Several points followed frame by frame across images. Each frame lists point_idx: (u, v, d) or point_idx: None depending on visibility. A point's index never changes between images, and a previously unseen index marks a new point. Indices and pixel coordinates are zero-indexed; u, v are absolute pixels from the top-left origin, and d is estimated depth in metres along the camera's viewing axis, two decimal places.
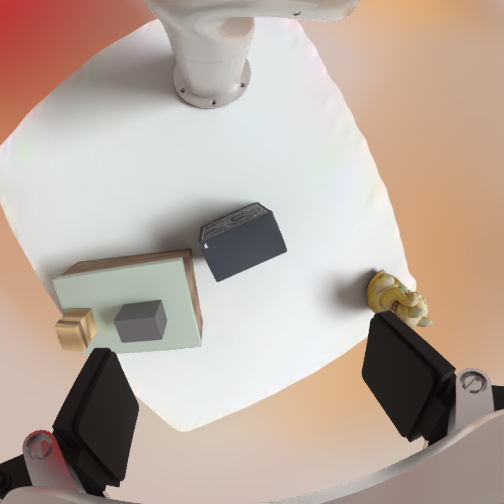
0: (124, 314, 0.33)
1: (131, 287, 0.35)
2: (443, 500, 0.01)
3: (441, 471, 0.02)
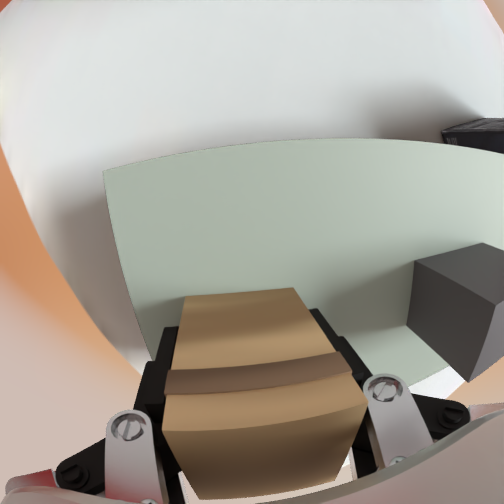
0: (482, 281, 0.07)
1: (444, 204, 0.10)
2: (443, 500, 0.01)
3: (441, 471, 0.02)
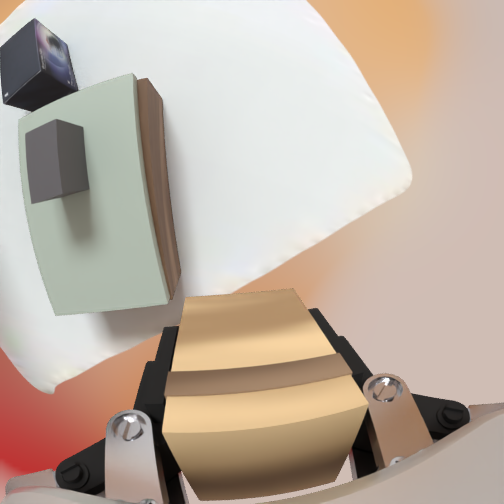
0: None
1: None
2: (443, 500, 0.01)
3: (441, 471, 0.02)
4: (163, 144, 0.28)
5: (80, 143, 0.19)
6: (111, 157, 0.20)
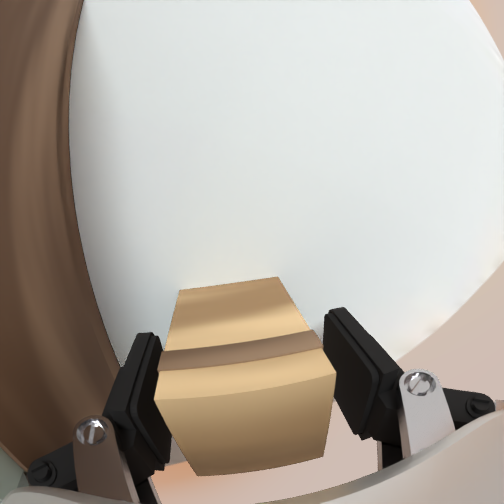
0: None
1: None
2: (443, 500, 0.01)
3: (441, 471, 0.02)
4: (57, 90, 0.07)
5: None
6: None
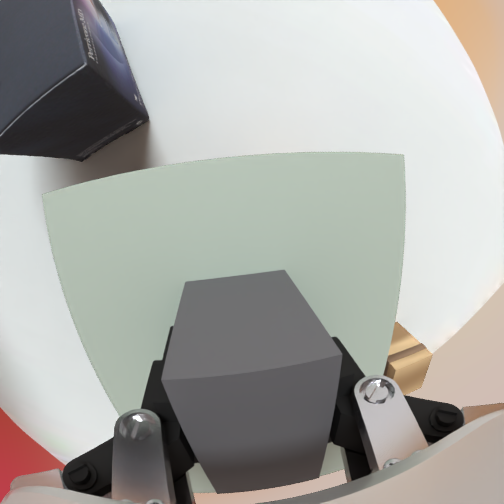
0: None
1: None
2: (443, 500, 0.01)
3: (441, 471, 0.02)
4: None
5: None
6: (346, 340, 0.11)
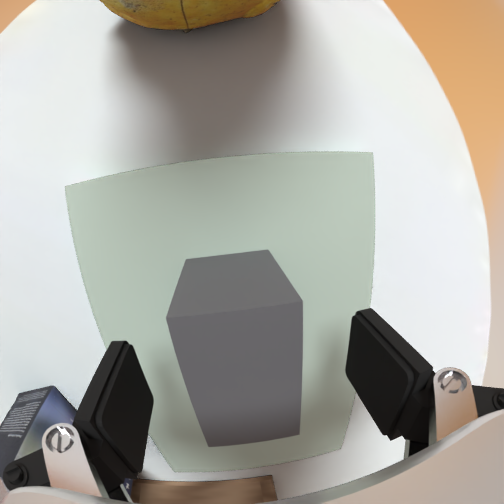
0: None
1: (153, 342, 0.12)
2: (443, 500, 0.01)
3: (441, 471, 0.02)
4: None
5: None
6: (325, 315, 0.13)
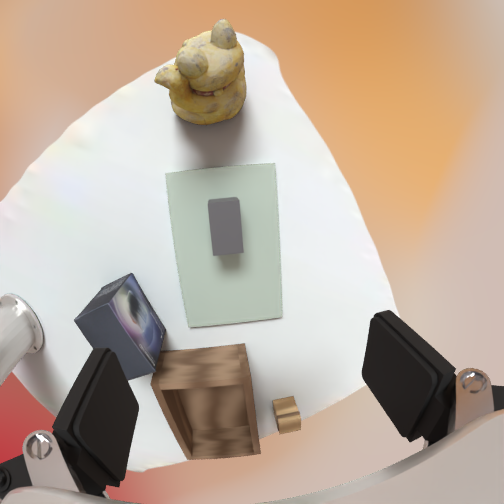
0: None
1: (193, 232, 0.35)
2: (443, 500, 0.01)
3: (441, 471, 0.02)
4: None
5: None
6: (259, 223, 0.35)
